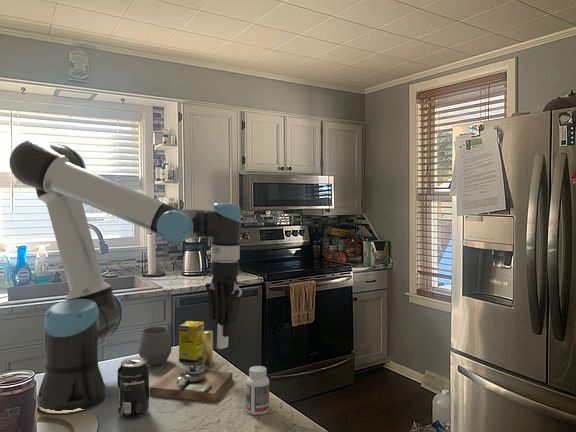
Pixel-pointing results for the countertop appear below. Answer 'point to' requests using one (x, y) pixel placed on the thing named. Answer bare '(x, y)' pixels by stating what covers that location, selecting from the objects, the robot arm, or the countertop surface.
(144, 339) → the cup
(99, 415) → the countertop surface
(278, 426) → the countertop surface
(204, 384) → the stand
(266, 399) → the pill bottle
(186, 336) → the supplement box
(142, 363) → the beverage can
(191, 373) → the crank handle
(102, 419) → the countertop surface
